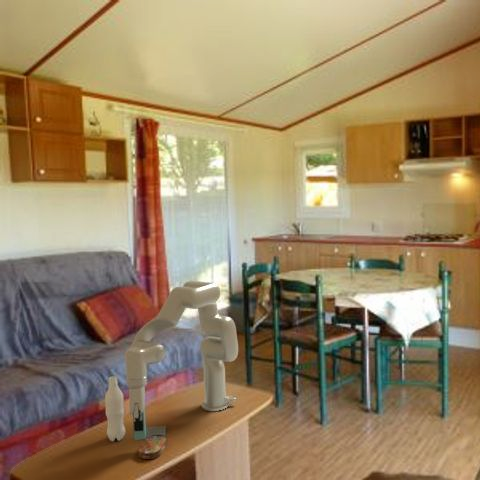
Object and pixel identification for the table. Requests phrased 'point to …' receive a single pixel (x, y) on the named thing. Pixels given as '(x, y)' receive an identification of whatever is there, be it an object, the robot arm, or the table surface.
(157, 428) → the mat
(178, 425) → the table surface
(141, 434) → the stick
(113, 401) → the water bottle
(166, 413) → the table surface
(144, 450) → the tin
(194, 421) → the table surface
